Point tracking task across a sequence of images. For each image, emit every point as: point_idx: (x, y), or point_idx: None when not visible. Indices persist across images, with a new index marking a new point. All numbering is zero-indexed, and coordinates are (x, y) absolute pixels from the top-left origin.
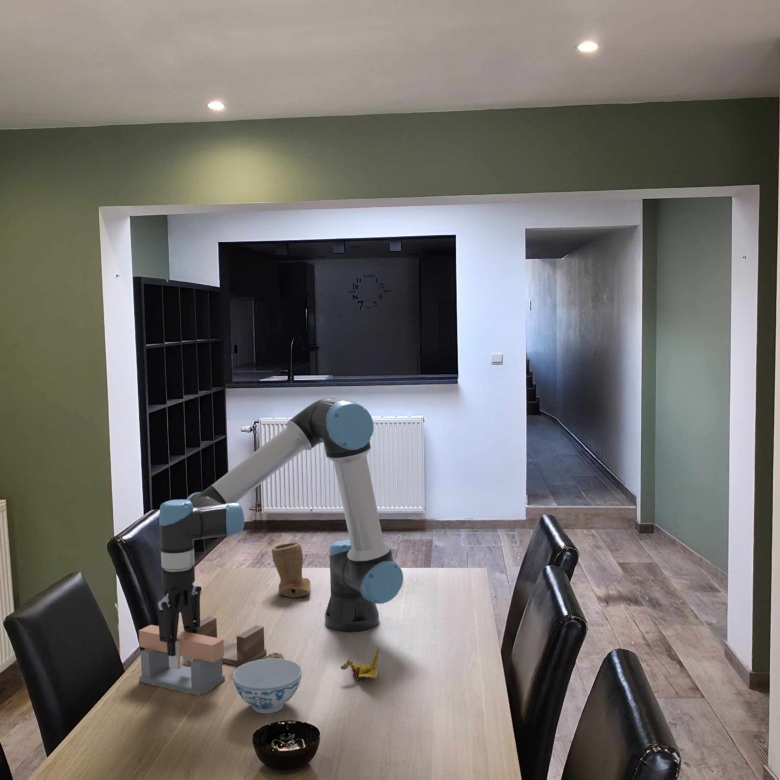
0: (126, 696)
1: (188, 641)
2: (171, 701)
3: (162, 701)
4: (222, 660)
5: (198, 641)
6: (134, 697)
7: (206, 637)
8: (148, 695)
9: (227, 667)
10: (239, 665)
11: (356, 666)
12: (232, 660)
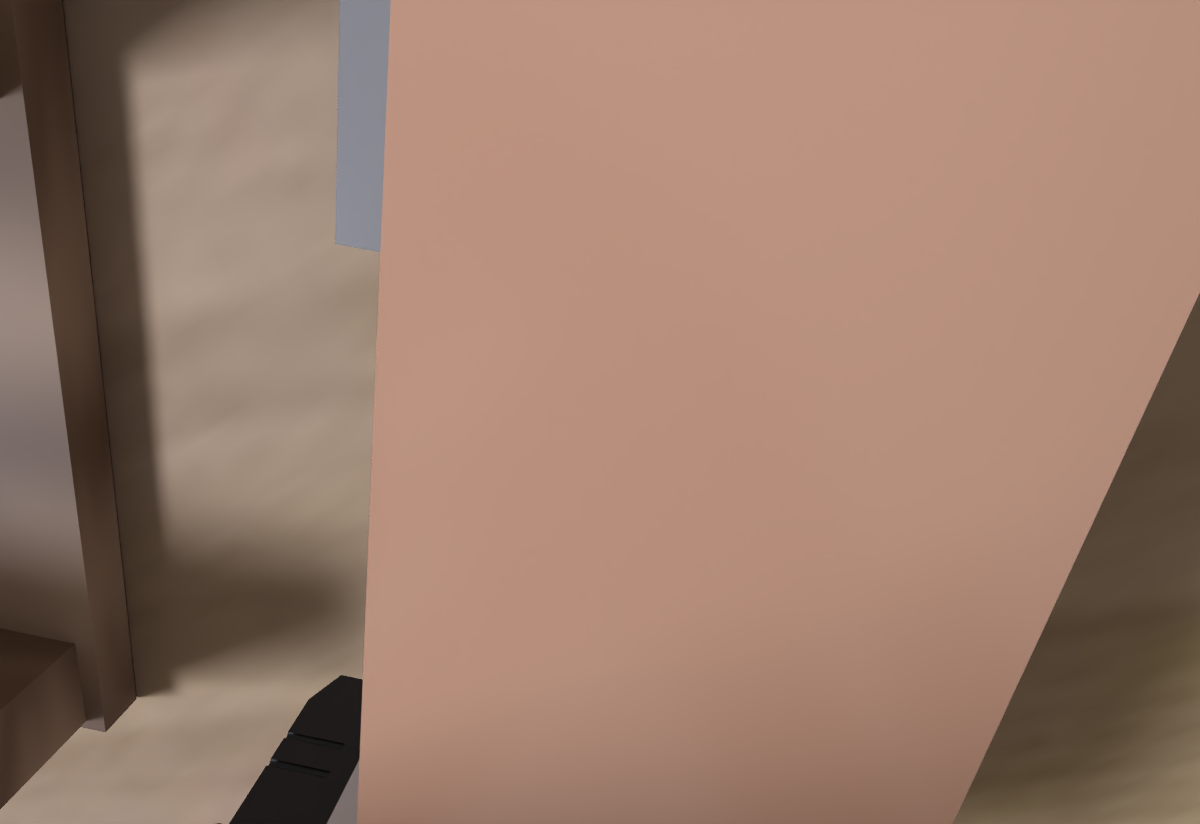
0: (1074, 807)
1: (944, 808)
2: (1171, 367)
3: (1175, 461)
4: (79, 312)
5: (995, 494)
6: (1091, 742)
7: (516, 379)
8: (1034, 650)
9: (168, 181)
10: (60, 46)
11: None
12: (39, 163)
